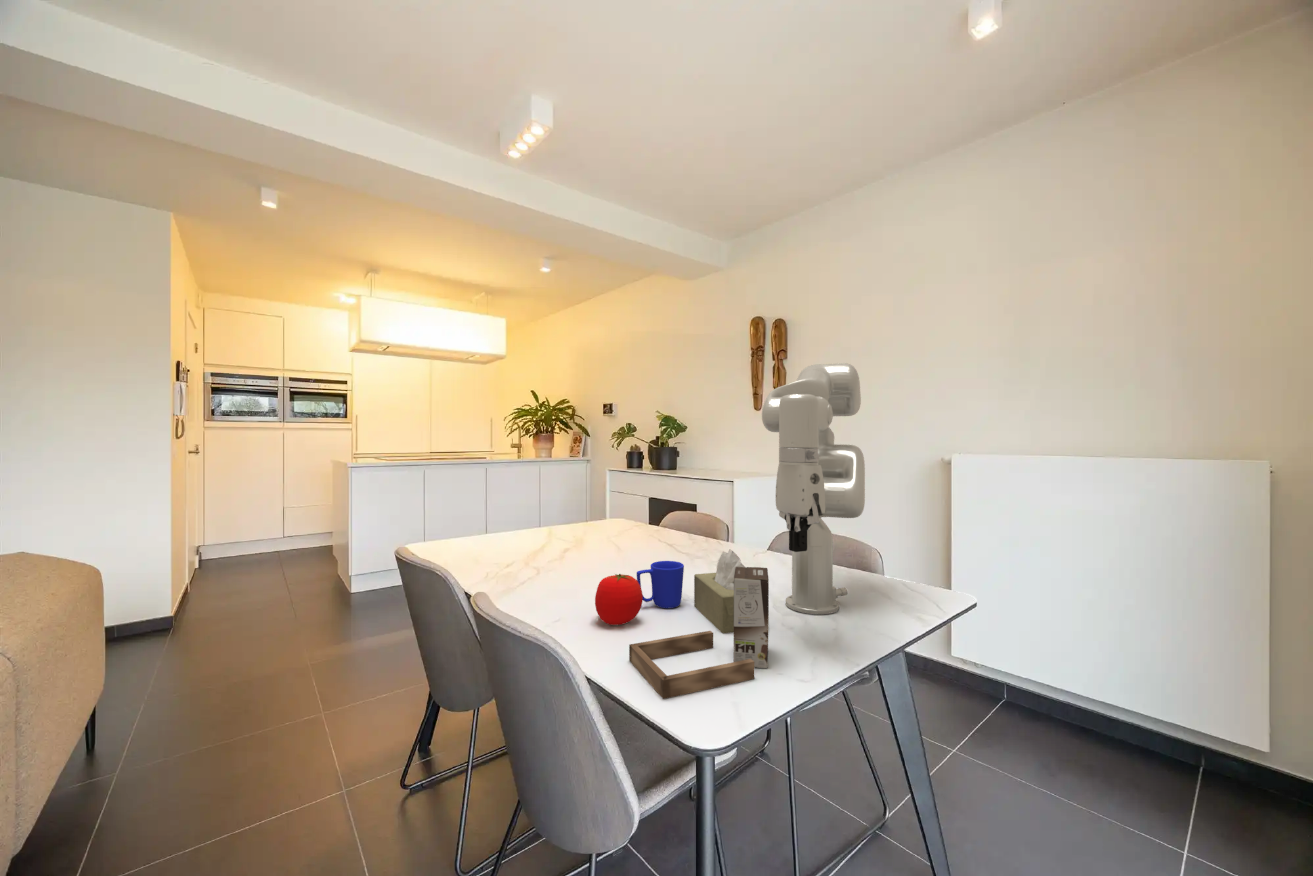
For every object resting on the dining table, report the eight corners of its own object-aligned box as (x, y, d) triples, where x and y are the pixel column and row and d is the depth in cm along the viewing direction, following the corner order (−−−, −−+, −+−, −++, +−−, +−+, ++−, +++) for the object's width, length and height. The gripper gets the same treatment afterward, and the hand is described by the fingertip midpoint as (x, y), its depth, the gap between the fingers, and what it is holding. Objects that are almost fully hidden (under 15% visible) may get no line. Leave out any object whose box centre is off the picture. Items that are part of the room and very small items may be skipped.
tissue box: (765, 630, 113) (765, 557, 113) (722, 635, 110) (723, 560, 110) (730, 603, 131) (730, 540, 131) (693, 606, 128) (693, 542, 128)
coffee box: (768, 669, 94) (768, 579, 94) (732, 666, 95) (732, 577, 95) (768, 648, 103) (768, 566, 103) (735, 646, 104) (735, 565, 104)
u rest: (710, 645, 104) (710, 630, 104) (754, 678, 90) (754, 661, 90) (629, 660, 97) (629, 644, 97) (663, 699, 83) (663, 680, 83)
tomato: (584, 624, 116) (584, 575, 116) (614, 610, 125) (614, 565, 125) (622, 634, 110) (622, 583, 110) (650, 619, 119) (650, 572, 119)
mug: (631, 604, 129) (631, 564, 129) (675, 598, 134) (675, 559, 134) (643, 614, 122) (643, 572, 122) (689, 608, 127) (689, 566, 127)
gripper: (840, 458, 98) (840, 557, 97) (790, 456, 111) (789, 542, 111) (808, 458, 95) (808, 560, 94) (760, 456, 108) (759, 545, 108)
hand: (798, 550), depth 103 cm, fingers closed
